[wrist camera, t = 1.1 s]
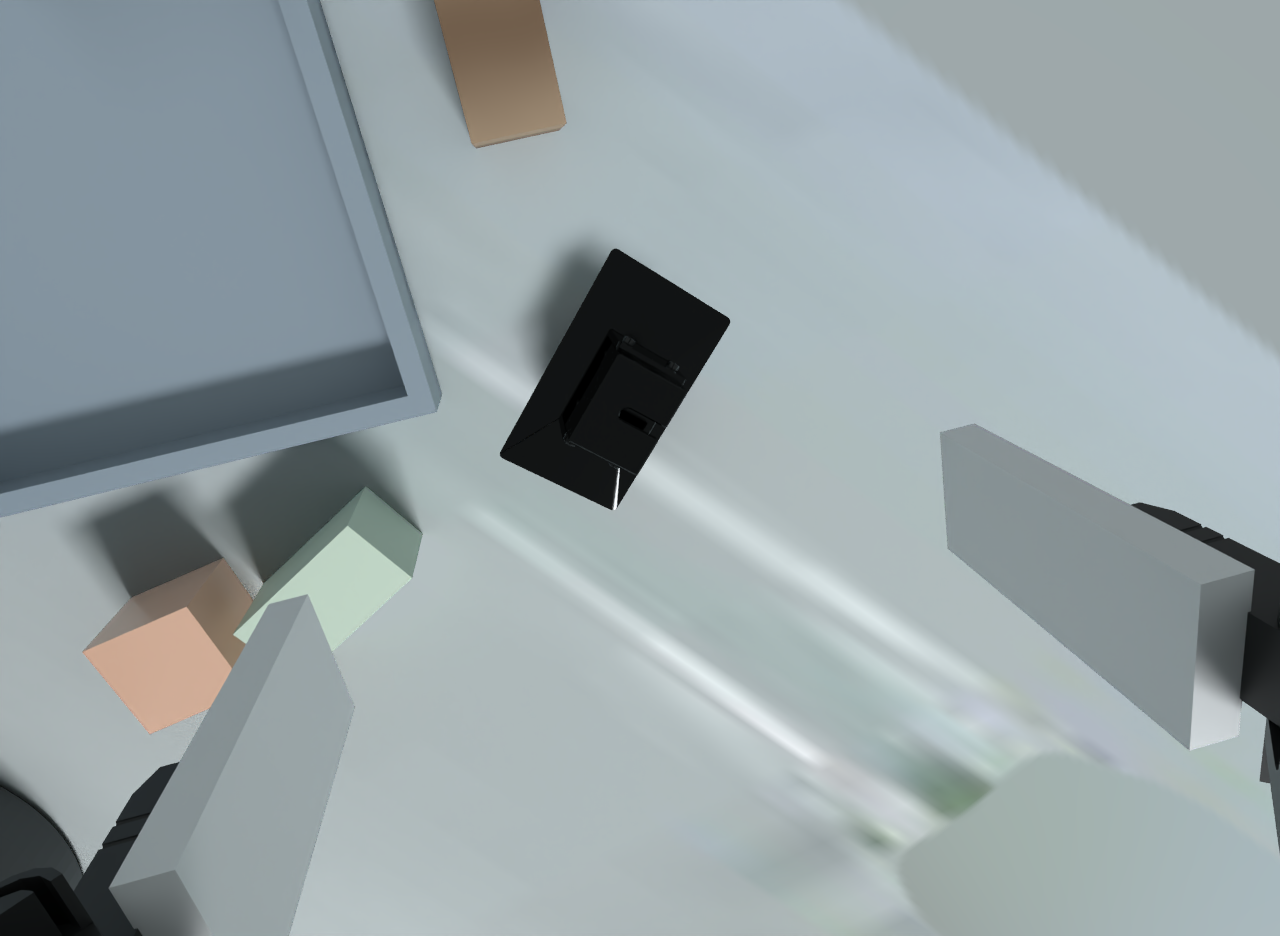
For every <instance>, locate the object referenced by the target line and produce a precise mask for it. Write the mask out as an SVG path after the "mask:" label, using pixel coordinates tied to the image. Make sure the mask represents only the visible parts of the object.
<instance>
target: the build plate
mask: <svg viewBox="0 0 1280 936" xmlns="http://www.w3.org/2000/svg"><path fill="white" fill-rule="evenodd" d="M729 324H730V319H729V318H728V317H726V316H725V315H723V314H721V313H720V312H718V311H717V310H715V309H713V308H712V307H710V306H709V305H707V304H705V303H704V302H702V301H701V300H699V299H697V298H696V297H694V296H693V295H691V294H689V293H688V292H686V291H684V290H683V289H681V288H680V287H678V286H676V285H675V284H673V283H672V282H670V281H668V280H667V279H665V278H664V277H662V276H660V275H659V274H657V273H655V272H654V271H652V270H651V269H649V268H647V267H646V266H644V265H643V264H641V263H639V262H638V261H636V260H635V259H633V258H631V257H630V256H628V255H627V254H625V253H623V252H622V251H620V250H618V249H613V250H612V251H611V253H610V254H609V256H608V258H607V260H606V262H605V263H604V265H603V267H602V269H601V271H600V273H599V274H598V276H597V278H596V280H595V282H594V283H593V285H592V287H591V289H590V291H589V292H588V294H587V296H586V298H585V300H584V302H583V303H582V305H581V307H580V309H579V311H578V312H577V314H576V316H575V318H574V320H573V321H572V323H571V325H570V327H569V329H568V330H567V332H566V334H565V336H564V338H563V340H562V341H561V343H560V345H559V347H558V349H557V350H556V352H555V354H554V356H553V358H552V359H551V361H550V363H549V365H548V367H547V369H546V370H545V372H544V374H543V376H542V378H541V379H540V381H539V383H538V385H537V387H536V388H535V390H534V392H533V394H532V396H531V398H530V399H529V401H528V403H527V405H526V407H525V408H524V410H523V412H522V414H521V416H520V417H519V419H518V421H517V423H516V425H515V426H514V428H513V430H512V432H511V434H510V436H509V437H508V439H507V441H506V443H505V445H504V446H503V448H502V450H501V452H500V456H501V457H502V458H503V459H505V460H507V461H510V462H512V463H514V464H516V465H518V466H520V467H522V468H524V469H526V470H528V471H531V472H533V473H535V474H537V475H539V476H541V477H543V478H545V479H547V480H549V481H552V482H554V483H556V484H558V485H560V486H562V487H564V488H566V489H568V490H570V491H573V492H575V493H577V494H579V495H581V496H583V497H585V498H587V499H589V500H591V501H594V502H596V503H598V504H600V505H602V506H604V507H606V508H608V509H610V510H615V509H616V508H617V507H618V505H619V504H620V502H621V500H622V499H623V497H624V495H625V494H626V492H627V491H628V489H629V487H630V486H631V484H632V482H633V481H634V479H635V478H636V476H637V475H638V473H639V472H640V470H641V468H642V467H643V465H644V464H645V462H646V460H647V459H648V457H649V455H650V454H651V452H652V450H653V449H654V447H655V445H656V444H657V442H658V440H659V438H660V437H661V435H662V434H663V432H664V430H665V429H666V427H667V426H668V424H669V422H670V421H671V419H672V417H673V416H674V414H675V413H676V411H677V409H678V408H679V406H680V404H681V403H682V401H683V399H684V398H685V396H686V394H687V393H688V391H689V390H690V388H691V386H692V385H693V383H694V381H695V380H696V378H697V376H698V375H699V373H700V372H701V370H702V368H703V367H704V365H705V363H706V362H707V360H708V359H709V357H710V355H711V354H712V352H713V350H714V349H715V347H716V346H717V344H718V342H719V341H720V339H721V337H722V336H723V334H724V332H725V331H726V329H727V328H728V326H729Z"/></svg>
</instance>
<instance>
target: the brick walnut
mask: <svg viewBox="0 0 1280 936" xmlns="http://www.w3.org/2000/svg"><path fill="white" fill-rule="evenodd" d="M434 2H435V6H436V10H437V13H438V17H439V21H440V25H441V29H442V32H443V36H444V40H445V44H446V48H447V51H448V55H449V59H450V63H451V67H452V70H453V74H454V78H455V82H456V86H457V89H458V93H459V97H460V101H461V105H462V108H463V112H464V116H465V120H466V124H467V127H468V131H469V135H470V139H471V143H472V144H473V145H474V146H475V147H476V148H480V147H485V146H489V145H494V144H498V143H503V142H508V141H512V140H517V139H521V138H526V137H531V136H535V135H540V134H544V133H549V132H554V131H558V130H560V129H561V128H562V127H563V126H564V125H565V124H566V119H565V114H564V110H563V105H562V100H561V96H560V91H559V87H558V82H557V78H556V73H555V69H554V64H553V59H552V55H551V50H550V46H549V41H548V37H547V32H546V28H545V23H544V19H543V14H542V9H541V5H540V0H434Z"/></svg>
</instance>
